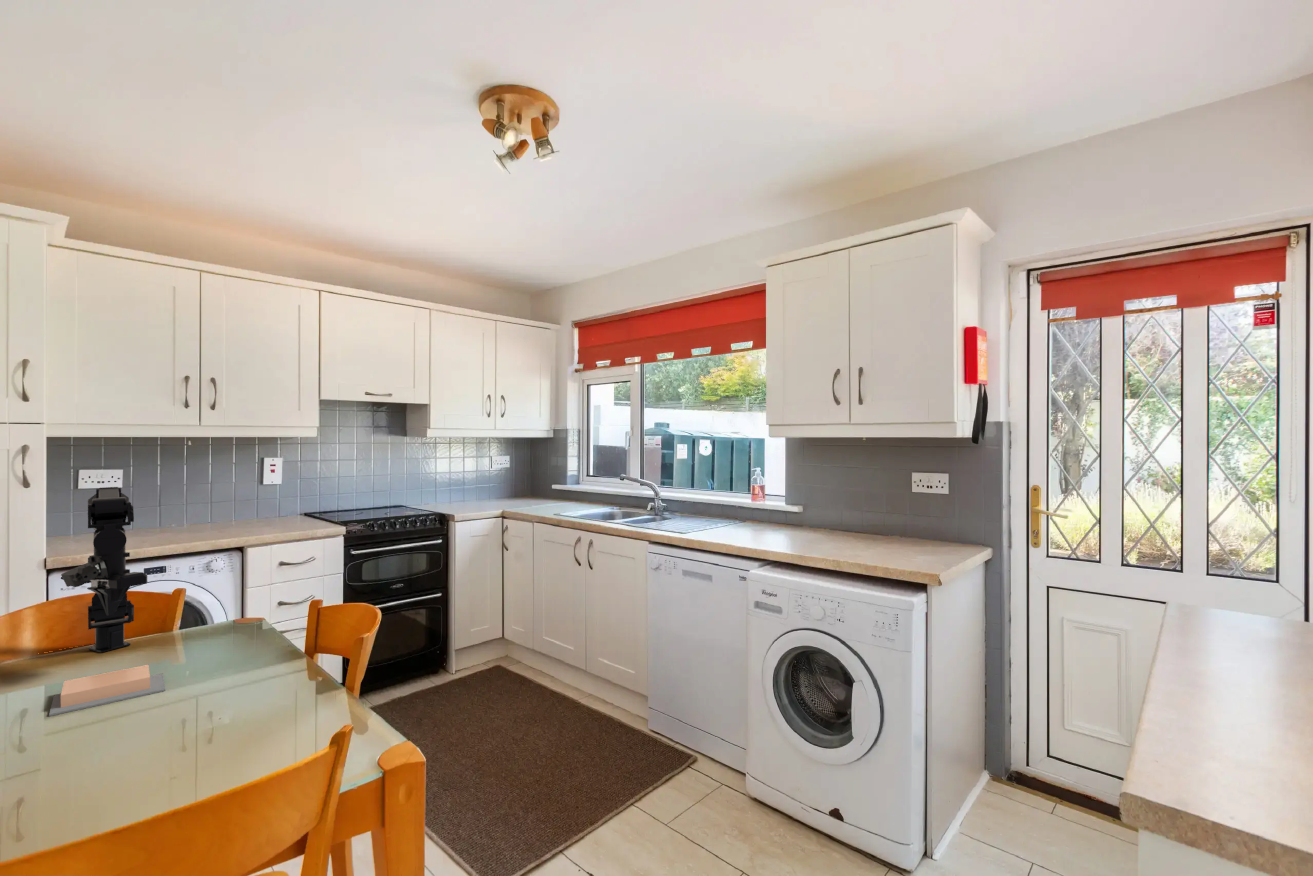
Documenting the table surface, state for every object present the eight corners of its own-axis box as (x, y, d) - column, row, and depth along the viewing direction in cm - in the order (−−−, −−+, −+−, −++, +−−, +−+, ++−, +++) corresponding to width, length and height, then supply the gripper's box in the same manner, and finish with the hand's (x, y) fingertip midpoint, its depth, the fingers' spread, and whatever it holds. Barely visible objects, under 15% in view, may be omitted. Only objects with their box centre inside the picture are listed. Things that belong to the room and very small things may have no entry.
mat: (54, 697, 129) (54, 695, 129) (162, 675, 141) (162, 673, 141) (49, 716, 120) (49, 714, 120) (165, 690, 132) (165, 689, 132)
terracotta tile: (64, 681, 131) (60, 695, 123) (148, 664, 140) (150, 677, 133) (64, 692, 131) (60, 707, 123) (148, 675, 140) (150, 688, 133)
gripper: (44, 554, 142) (44, 621, 142) (91, 556, 136) (92, 626, 135) (102, 547, 153) (102, 609, 152) (148, 548, 146) (149, 613, 145)
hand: (110, 614), depth 146 cm, fingers closed
